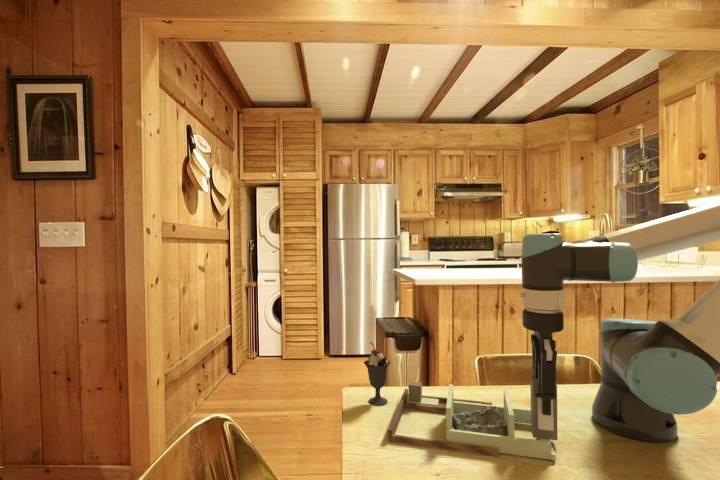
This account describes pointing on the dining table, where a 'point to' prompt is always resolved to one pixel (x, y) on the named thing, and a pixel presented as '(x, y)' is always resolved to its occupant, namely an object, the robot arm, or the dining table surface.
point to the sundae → (377, 375)
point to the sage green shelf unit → (510, 416)
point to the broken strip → (428, 402)
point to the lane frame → (427, 442)
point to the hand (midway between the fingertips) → (543, 424)
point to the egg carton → (480, 421)
